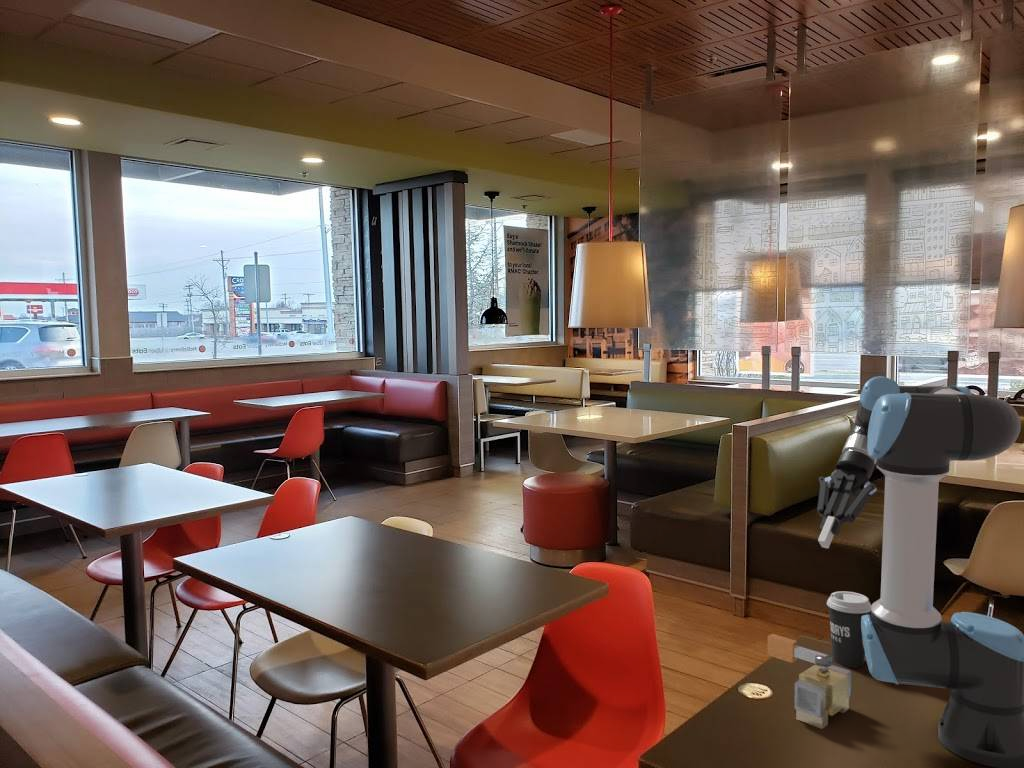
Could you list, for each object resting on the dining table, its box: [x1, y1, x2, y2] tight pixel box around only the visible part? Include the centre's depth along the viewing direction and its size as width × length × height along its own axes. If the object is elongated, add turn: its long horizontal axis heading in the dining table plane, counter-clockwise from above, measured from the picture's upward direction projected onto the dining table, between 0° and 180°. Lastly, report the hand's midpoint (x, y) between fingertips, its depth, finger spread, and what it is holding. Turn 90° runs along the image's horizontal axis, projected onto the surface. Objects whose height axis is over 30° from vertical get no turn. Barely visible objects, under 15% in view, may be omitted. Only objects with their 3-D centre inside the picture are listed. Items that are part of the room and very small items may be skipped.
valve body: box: [793, 664, 852, 730], centre depth 153 cm, size 13×7×9 cm, turn 132°
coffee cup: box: [826, 590, 872, 668], centre depth 178 cm, size 10×10×15 cm
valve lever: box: [767, 633, 833, 672], centre depth 157 cm, size 13×3×4 cm, turn 43°
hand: (823, 544), depth 169 cm, fingers closed
